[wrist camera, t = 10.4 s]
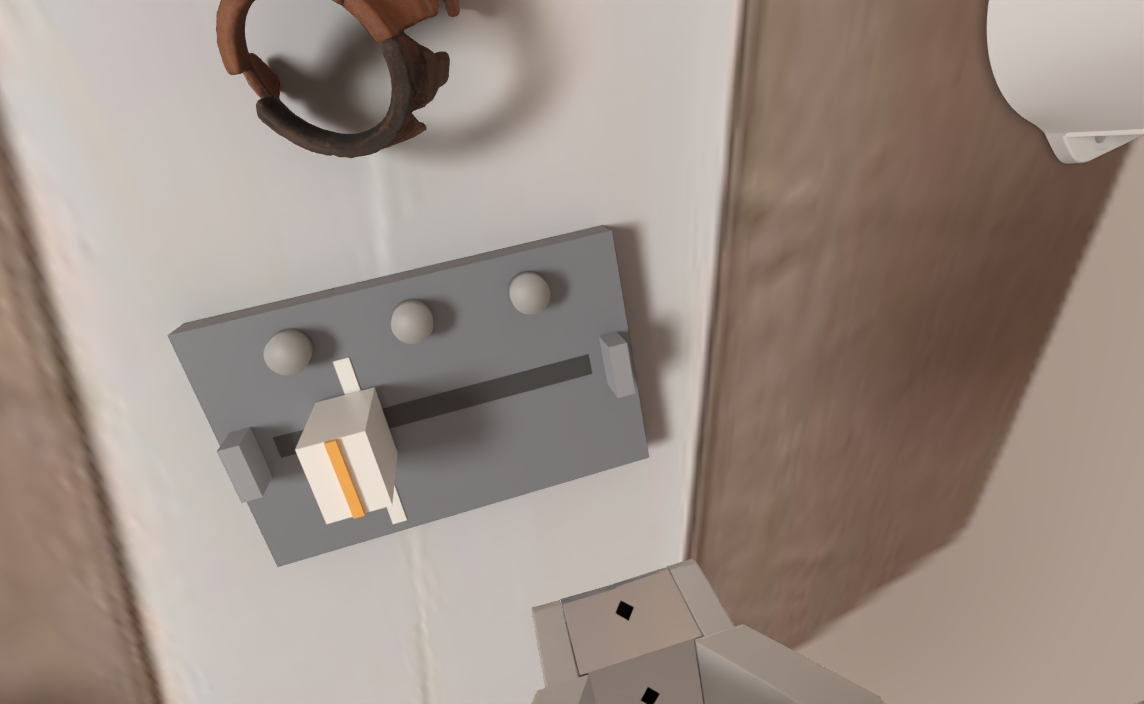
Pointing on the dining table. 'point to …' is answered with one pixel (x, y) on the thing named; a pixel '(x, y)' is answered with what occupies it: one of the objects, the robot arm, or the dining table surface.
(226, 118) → the dining table surface
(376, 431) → the fader tab
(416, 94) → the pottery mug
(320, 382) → the console
